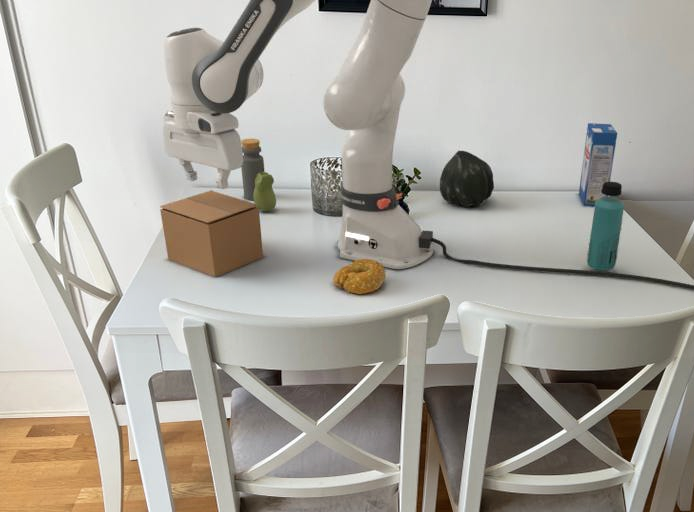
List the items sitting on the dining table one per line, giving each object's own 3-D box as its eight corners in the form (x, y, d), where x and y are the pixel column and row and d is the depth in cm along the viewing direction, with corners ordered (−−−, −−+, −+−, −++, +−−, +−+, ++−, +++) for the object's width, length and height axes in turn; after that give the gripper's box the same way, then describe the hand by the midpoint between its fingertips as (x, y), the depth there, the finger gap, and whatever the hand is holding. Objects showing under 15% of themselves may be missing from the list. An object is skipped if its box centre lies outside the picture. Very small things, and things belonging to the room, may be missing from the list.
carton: (263, 256, 166) (258, 204, 160) (215, 277, 156) (207, 222, 150) (217, 241, 173) (210, 190, 167) (168, 259, 163) (159, 206, 157)
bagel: (336, 274, 160) (335, 253, 157) (388, 277, 160) (388, 256, 157) (329, 294, 151) (328, 272, 149) (383, 297, 151) (383, 275, 149)
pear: (267, 206, 195) (264, 167, 190) (281, 210, 192) (278, 172, 187) (250, 211, 191) (246, 172, 186) (265, 216, 188) (261, 177, 183)
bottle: (261, 201, 197) (256, 144, 190) (240, 199, 198) (234, 142, 191) (270, 194, 202) (265, 138, 195) (249, 192, 203) (244, 136, 196)
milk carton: (606, 207, 205) (617, 133, 194) (583, 206, 205) (593, 132, 194) (600, 195, 213) (610, 124, 203) (578, 194, 213) (587, 123, 203)
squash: (507, 178, 205) (474, 134, 201) (498, 197, 193) (462, 150, 188) (468, 207, 212) (435, 164, 208) (457, 226, 200) (421, 182, 195)
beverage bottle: (608, 279, 163) (622, 190, 153) (580, 272, 166) (592, 183, 156) (618, 269, 168) (633, 182, 158) (591, 262, 171) (604, 176, 160)
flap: (233, 214, 155) (233, 213, 155) (208, 223, 150) (208, 221, 150) (186, 199, 162) (185, 198, 162) (160, 207, 157) (159, 206, 157)
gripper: (150, 112, 152) (162, 178, 159) (219, 126, 143) (229, 196, 150) (175, 106, 157) (186, 172, 164) (244, 120, 147) (252, 188, 154)
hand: (207, 184), depth 157 cm, fingers open, 8 cm apart
